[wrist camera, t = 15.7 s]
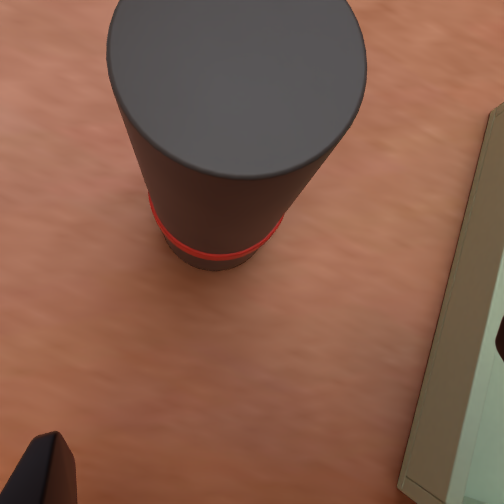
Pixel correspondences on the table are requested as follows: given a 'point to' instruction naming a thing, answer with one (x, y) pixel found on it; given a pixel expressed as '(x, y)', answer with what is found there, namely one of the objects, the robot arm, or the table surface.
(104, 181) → the table surface
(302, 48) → the red-banded dark cylinder
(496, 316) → the box
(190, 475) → the table surface
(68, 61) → the table surface
